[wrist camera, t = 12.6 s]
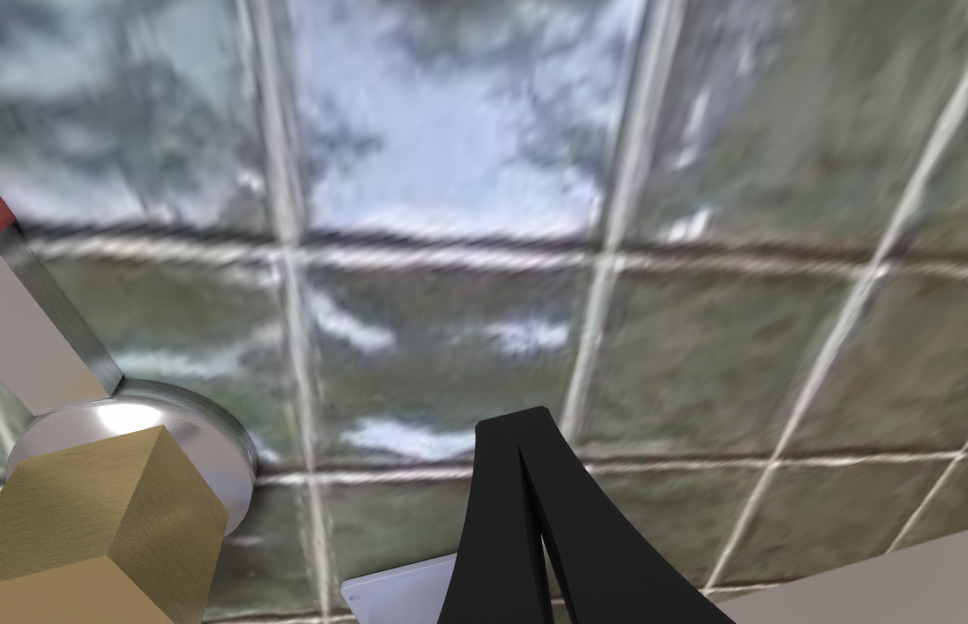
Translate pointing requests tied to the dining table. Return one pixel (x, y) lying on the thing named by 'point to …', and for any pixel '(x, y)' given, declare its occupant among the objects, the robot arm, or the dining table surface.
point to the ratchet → (100, 384)
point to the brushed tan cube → (109, 535)
